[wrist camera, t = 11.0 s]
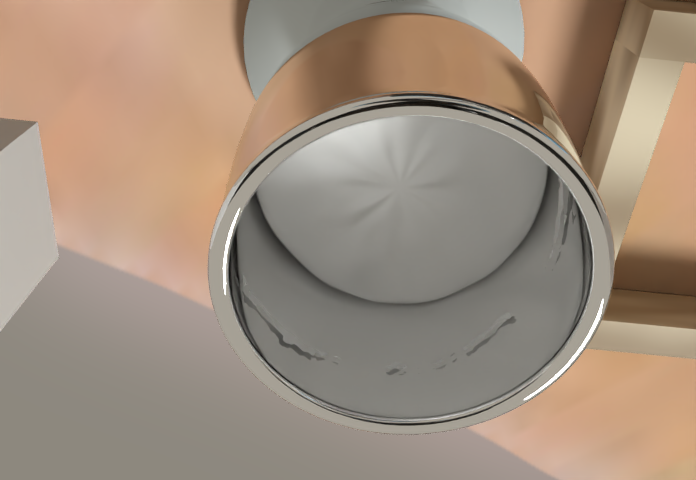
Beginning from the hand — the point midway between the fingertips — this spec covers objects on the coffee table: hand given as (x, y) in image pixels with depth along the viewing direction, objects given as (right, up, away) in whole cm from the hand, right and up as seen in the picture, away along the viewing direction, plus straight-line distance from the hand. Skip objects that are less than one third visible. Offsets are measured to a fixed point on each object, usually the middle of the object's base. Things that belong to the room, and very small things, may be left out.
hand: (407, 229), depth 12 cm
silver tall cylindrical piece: (0, +7, +12) cm, 14 cm away
